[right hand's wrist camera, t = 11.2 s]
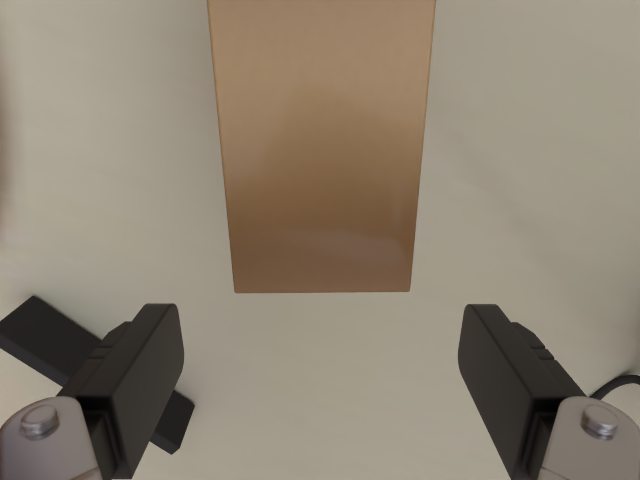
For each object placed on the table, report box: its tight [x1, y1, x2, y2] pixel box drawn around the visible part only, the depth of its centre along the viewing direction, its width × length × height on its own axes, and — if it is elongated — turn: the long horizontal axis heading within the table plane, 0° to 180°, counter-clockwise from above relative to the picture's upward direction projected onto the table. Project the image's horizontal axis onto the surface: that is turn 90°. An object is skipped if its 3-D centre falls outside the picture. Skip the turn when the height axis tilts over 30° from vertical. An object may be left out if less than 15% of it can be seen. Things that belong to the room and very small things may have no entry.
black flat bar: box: [0, 296, 195, 455], centre depth 35 cm, size 18×1×5 cm, turn 45°
